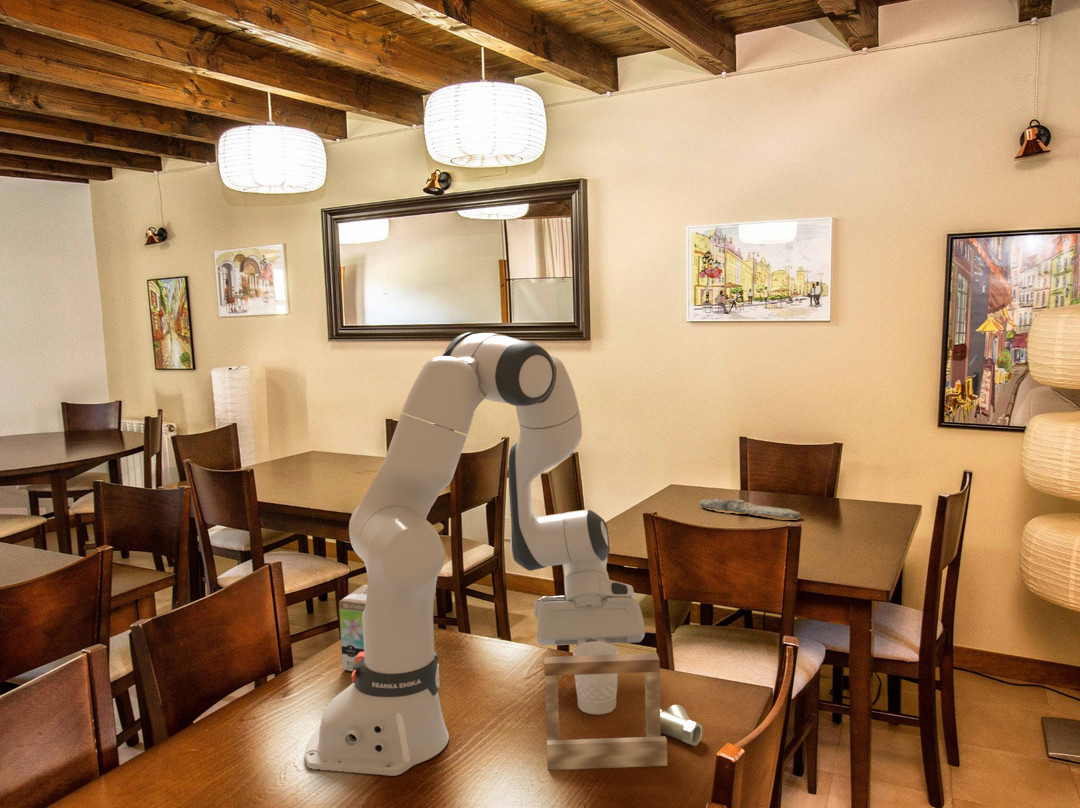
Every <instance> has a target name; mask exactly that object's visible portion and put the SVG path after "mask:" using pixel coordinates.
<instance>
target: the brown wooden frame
mask: <svg viewBox="0 0 1080 808" xmlns="http://www.w3.org/2000/svg"><path fill="white" fill-rule="evenodd" d="M543 662H544V663H543V664H544V665H543V667H544V668H543V670H544V694H545V695H544V698H545V725H546V726H545V727H546V729H545V730H546V756H547V759H546V760H547V770H548V771H556V770H558V771H559V770H582V769H583V770H585V769H586V770H587V769H610V768H611V769H613V768H617V769H618V768H636V767H637V768H639V767H640V768H641V767H643V768H644V767H665V766H666V767H667V766H668V739H667V735H666V736H664V735H663V736H662V733H661V723H660V709H661V680H660V679H661V677H660V676H661V675H660V673H661V671H660V670H661V669H660V668H661V667H660V665H661V664H660V657H659V655H658V653H657V652H647V653H621V654H619V653H618V654H616V655H587V656H573V655H564V656H543ZM613 673H618V674H637V673H638V674H639V673H640V674H641V673H644V694H645V695H644V697H645V698H644V701H645V704H644V705H645V708H644V709H645V736H636V737H635V736H633V737H613V738H612V737H611V738H581V739H578V738H577V739H560V717H559V716H560V715H559V684H558V683H559V682H558V678H559V677H558V676H575V675H585V674H613Z"/></svg>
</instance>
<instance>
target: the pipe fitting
mask: <svg viewBox="0 0 1080 808" xmlns="http://www.w3.org/2000/svg"><path fill="white" fill-rule="evenodd" d="M660 723H661V734H664V735H666V736H668V737H670V738H674V739H677V740H679V741H682V742H684V743H686V744H687V745H688V744H689V745H691V746H693V747H696V746H697V745H698V744H699V743H700V741H701V739H702V736H703V725H702V724H701V723H698V722H696V721H694V720H691V719H690V717H689V716H688V714H687V711H686V709H685V708H684V707H683V706H682V705H679V704H673V705H671V706H669V707H668V708H667V710H666V711H665V710H664V709H661V708H660ZM697 743H698V744H697ZM695 745H696V746H695Z"/></svg>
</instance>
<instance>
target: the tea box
mask: <svg viewBox="0 0 1080 808" xmlns="http://www.w3.org/2000/svg"><path fill="white" fill-rule="evenodd" d="M367 588H368V584H362V585H361V586H360V587H358V588H357V589H355V590H353V591H352V592H351V593H350V594H347V595H346V596H345V597H343V598H342V599H341V600H338V606H339V607H338V608H339V627H340V643H341V644H340V647H341V662H342V664H341V665H342V670H348V671H347V672H353V667H354V665H355V658H356V657H357V655H358V653H359V652H364V640H363V622H362V614H363V611H364V609H365V605H366V597H367Z"/></svg>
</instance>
